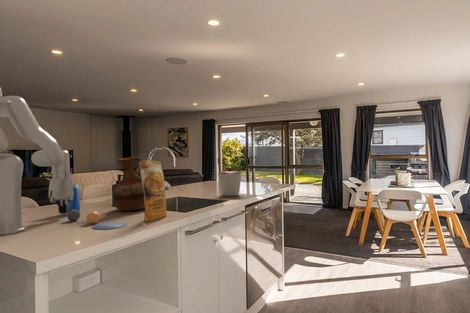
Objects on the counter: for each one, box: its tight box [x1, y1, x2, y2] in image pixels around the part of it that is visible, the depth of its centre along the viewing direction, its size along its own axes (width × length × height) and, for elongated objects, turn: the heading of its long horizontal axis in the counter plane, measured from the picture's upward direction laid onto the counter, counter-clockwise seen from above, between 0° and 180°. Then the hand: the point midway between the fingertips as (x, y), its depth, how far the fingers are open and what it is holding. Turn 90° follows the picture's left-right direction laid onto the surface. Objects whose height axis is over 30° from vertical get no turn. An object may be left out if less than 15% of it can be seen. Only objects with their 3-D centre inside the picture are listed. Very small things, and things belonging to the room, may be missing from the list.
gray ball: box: [66, 209, 81, 222], centre depth 141 cm, size 6×6×6 cm
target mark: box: [91, 221, 128, 231], centre depth 129 cm, size 14×14×1 cm
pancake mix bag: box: [138, 159, 168, 222], centre depth 143 cm, size 7×19×28 cm, turn 157°
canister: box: [217, 166, 243, 197], centre depth 222 cm, size 18×18×21 cm
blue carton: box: [63, 182, 81, 216], centre depth 159 cm, size 8×8×16 cm
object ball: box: [85, 210, 101, 225], centre depth 134 cm, size 6×6×6 cm
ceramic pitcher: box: [113, 156, 145, 211], centre depth 169 cm, size 20×20×30 cm
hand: (62, 213), depth 146 cm, fingers closed
